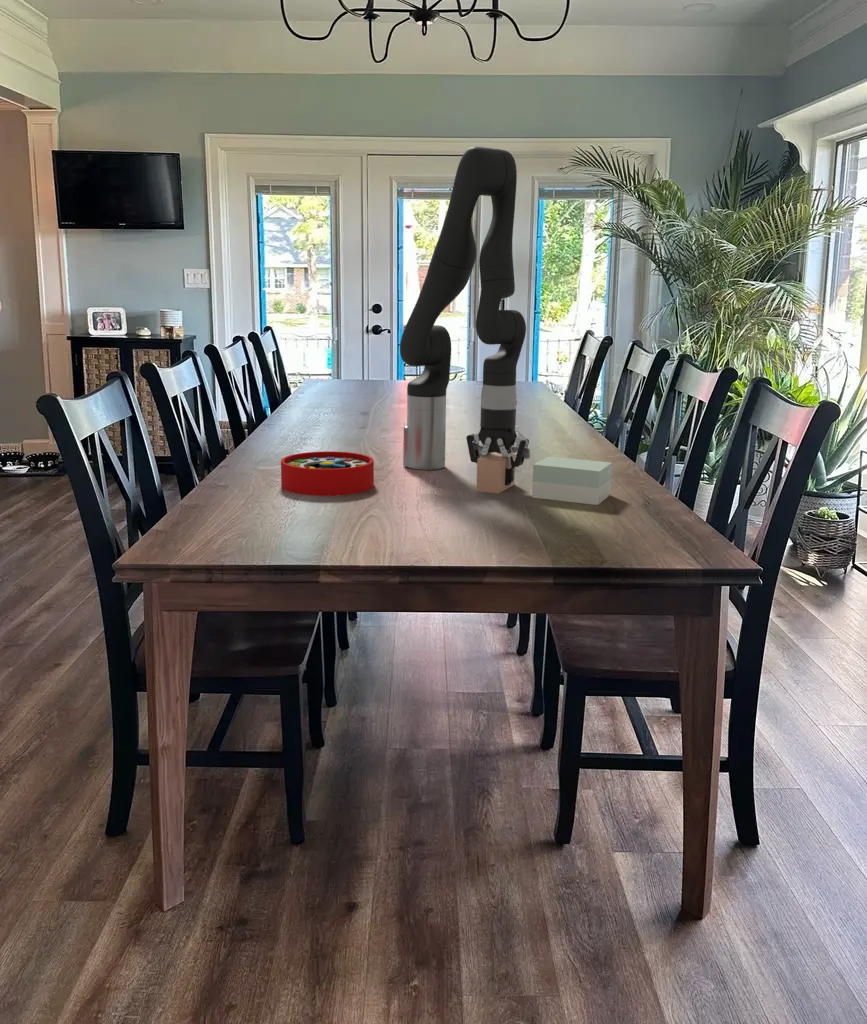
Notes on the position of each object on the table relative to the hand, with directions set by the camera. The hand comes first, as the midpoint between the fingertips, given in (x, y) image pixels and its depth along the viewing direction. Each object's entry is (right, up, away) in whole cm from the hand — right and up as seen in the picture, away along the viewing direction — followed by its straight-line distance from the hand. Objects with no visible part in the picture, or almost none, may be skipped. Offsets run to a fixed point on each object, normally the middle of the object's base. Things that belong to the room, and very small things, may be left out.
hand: (496, 483), depth 202 cm
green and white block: (+15, -3, -7) cm, 17 cm away
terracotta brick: (0, -1, 0) cm, 1 cm away
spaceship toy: (+4, +10, +44) cm, 45 cm away
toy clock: (-37, -1, 0) cm, 37 cm away
